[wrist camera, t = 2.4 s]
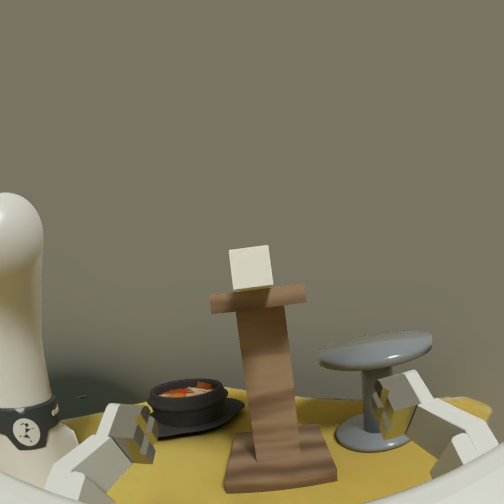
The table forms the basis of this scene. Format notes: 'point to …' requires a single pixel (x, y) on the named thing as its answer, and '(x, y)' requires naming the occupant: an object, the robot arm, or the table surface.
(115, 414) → the robot arm
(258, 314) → the walnut stand
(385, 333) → the cake stand
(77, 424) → the table surface
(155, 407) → the casserole
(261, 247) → the bar
